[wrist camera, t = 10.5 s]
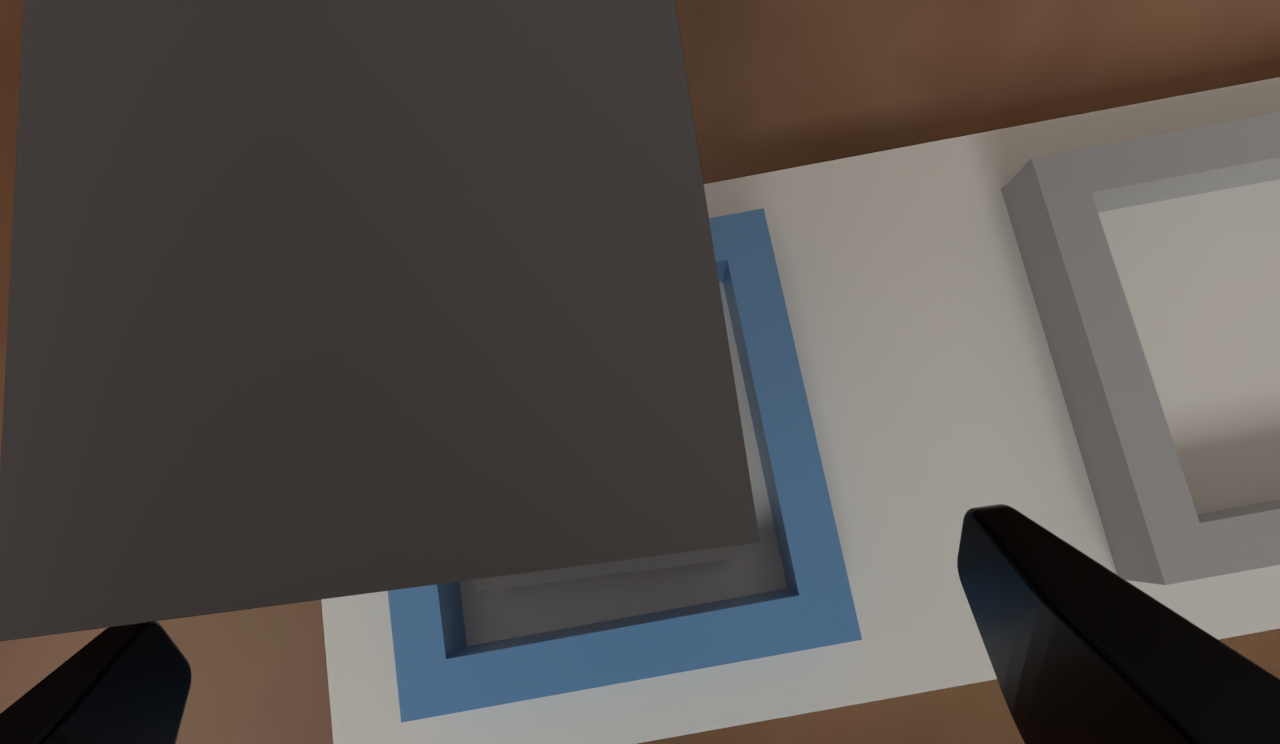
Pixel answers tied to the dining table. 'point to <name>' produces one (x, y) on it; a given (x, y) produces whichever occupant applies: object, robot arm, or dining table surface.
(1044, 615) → the robot arm
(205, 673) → the dining table surface
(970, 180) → the board
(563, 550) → the plug
